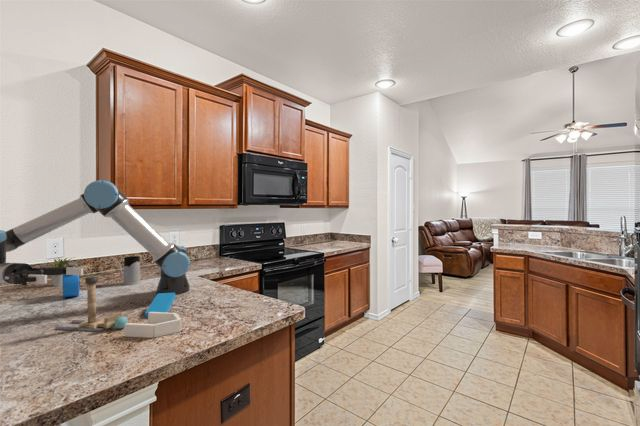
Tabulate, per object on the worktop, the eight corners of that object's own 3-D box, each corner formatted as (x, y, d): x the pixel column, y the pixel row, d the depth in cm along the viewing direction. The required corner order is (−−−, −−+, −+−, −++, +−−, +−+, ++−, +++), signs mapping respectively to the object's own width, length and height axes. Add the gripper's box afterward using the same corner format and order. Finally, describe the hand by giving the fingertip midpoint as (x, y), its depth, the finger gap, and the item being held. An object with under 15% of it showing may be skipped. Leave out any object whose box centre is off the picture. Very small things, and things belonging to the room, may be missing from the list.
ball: (127, 325, 110) (127, 314, 110) (128, 328, 107) (128, 317, 107) (114, 327, 107) (113, 316, 107) (114, 331, 104) (114, 319, 104)
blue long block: (165, 327, 120) (179, 302, 137) (163, 312, 118) (177, 288, 135) (147, 328, 119) (162, 302, 136) (144, 313, 117) (160, 288, 134)
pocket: (124, 336, 100) (124, 324, 100) (150, 322, 112) (150, 311, 112) (169, 338, 98) (169, 326, 98) (190, 324, 110) (190, 313, 110)
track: (55, 329, 106) (55, 327, 106) (73, 322, 113) (73, 319, 113) (101, 331, 104) (101, 329, 104) (117, 324, 111) (117, 321, 111)
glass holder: (131, 285, 168) (130, 258, 168) (112, 283, 173) (112, 257, 173) (144, 282, 177) (144, 256, 177) (126, 280, 181) (126, 255, 181)
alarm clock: (64, 294, 151) (63, 264, 151) (79, 292, 155) (79, 263, 155) (62, 300, 141) (62, 268, 140) (79, 298, 144) (79, 266, 144)
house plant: (84, 282, 178) (84, 254, 178) (62, 288, 164) (61, 257, 164) (62, 281, 179) (61, 254, 179) (38, 287, 165) (37, 257, 165)
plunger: (76, 329, 106) (75, 279, 106) (92, 322, 112) (91, 275, 112) (107, 331, 104) (106, 280, 104) (121, 324, 110) (121, 276, 110)
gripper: (48, 276, 124) (95, 278, 122) (-29, 292, 100) (27, 295, 97) (48, 258, 124) (95, 259, 122) (-29, 269, 100) (27, 271, 97)
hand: (65, 275), depth 109 cm, fingers open, 13 cm apart
